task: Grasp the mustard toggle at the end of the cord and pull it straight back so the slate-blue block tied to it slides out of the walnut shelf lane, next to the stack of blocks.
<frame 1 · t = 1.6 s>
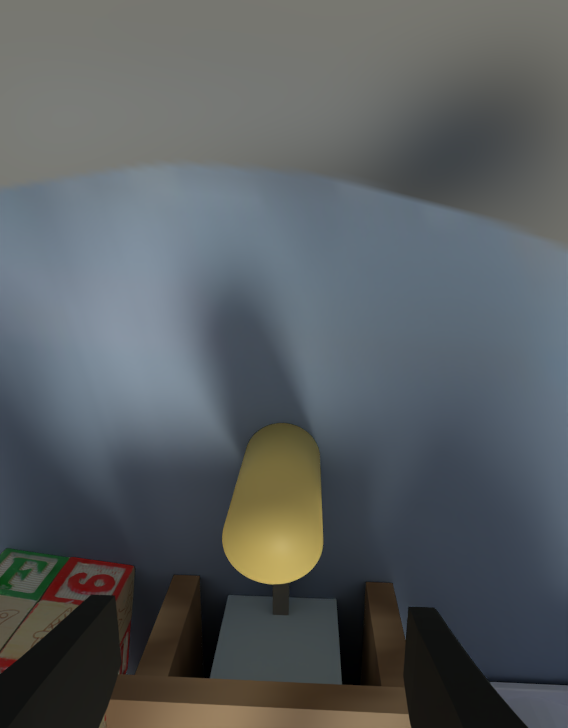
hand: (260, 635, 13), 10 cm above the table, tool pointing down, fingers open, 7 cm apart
corded block: (281, 641, 25), on the table
stack of blocks: (68, 725, 27), on the table
shelf lane: (281, 684, 25), on the table
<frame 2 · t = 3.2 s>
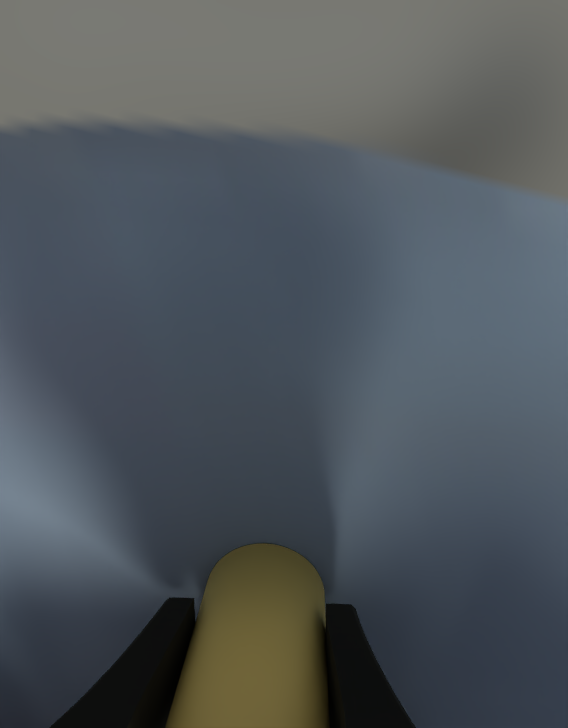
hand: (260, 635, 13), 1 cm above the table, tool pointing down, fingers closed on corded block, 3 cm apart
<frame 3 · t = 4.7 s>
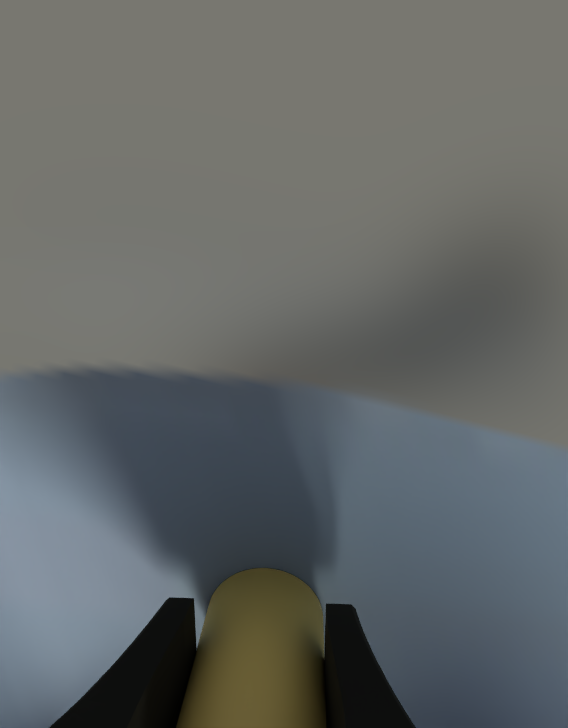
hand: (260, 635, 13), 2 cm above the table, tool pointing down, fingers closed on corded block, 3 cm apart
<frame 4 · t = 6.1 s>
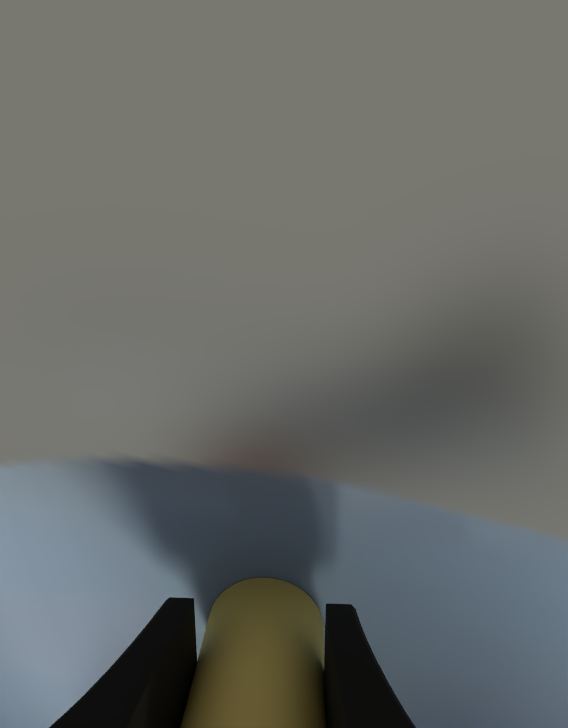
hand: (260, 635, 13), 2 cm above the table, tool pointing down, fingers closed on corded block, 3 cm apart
when the fingers open (2 cm above the table, at t = 6.5 s): corded block stays where it is, on the table.
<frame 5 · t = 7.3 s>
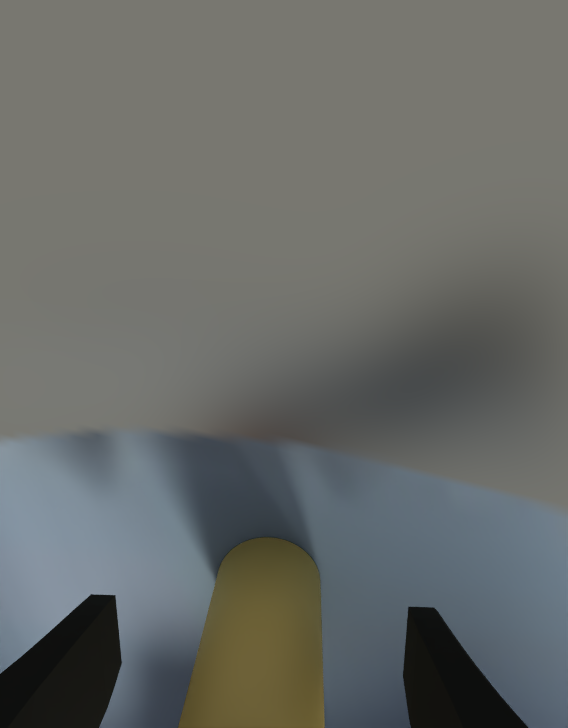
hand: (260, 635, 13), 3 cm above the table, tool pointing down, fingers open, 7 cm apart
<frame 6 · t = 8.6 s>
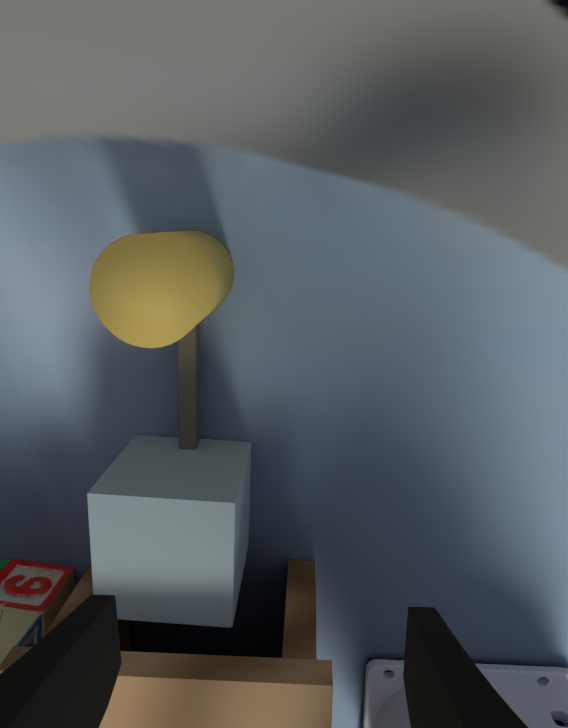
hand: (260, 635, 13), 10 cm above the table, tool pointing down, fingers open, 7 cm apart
corded block: (193, 490, 23), on the table
stack of blocks: (14, 726, 27), on the table
shelf lane: (209, 664, 25), on the table
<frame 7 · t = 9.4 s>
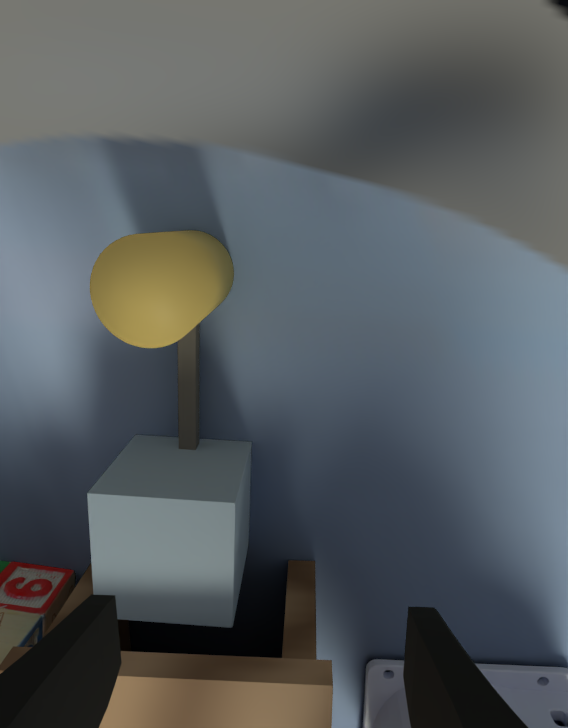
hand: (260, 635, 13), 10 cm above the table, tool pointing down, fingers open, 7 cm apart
corded block: (193, 490, 23), on the table
shelf lane: (209, 664, 25), on the table
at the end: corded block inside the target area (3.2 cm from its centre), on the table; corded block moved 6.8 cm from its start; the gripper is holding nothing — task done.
